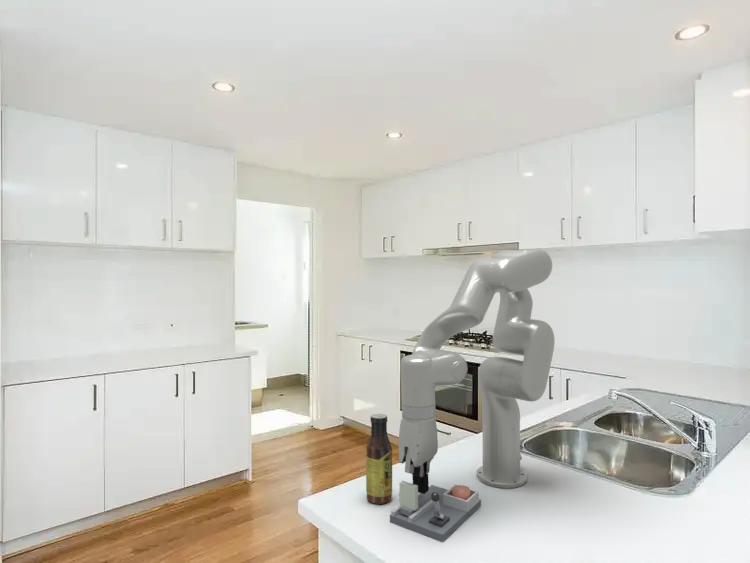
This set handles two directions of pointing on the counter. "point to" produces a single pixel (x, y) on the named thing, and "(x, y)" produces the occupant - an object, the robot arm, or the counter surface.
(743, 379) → the counter surface
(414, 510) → the pale green block
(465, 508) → the panel
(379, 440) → the sauce bottle
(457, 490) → the button
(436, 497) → the toggle
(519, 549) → the counter surface
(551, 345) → the robot arm
